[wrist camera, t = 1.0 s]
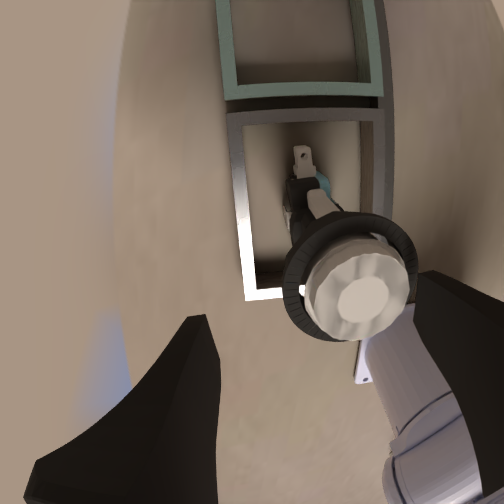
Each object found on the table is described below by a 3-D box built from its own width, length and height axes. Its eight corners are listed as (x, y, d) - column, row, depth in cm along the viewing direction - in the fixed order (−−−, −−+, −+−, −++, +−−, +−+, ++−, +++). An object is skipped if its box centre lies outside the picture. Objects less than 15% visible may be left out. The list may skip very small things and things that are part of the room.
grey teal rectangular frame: (364, -53, 12) (375, -65, 10) (379, 269, 21) (390, 284, 20) (212, -57, 12) (209, -72, 10) (245, 283, 21) (245, 300, 20)
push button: (253, 151, 18) (270, 197, 9) (343, 139, 18) (437, 176, 9) (270, 255, 21) (293, 369, 12) (350, 241, 20) (420, 340, 11)
